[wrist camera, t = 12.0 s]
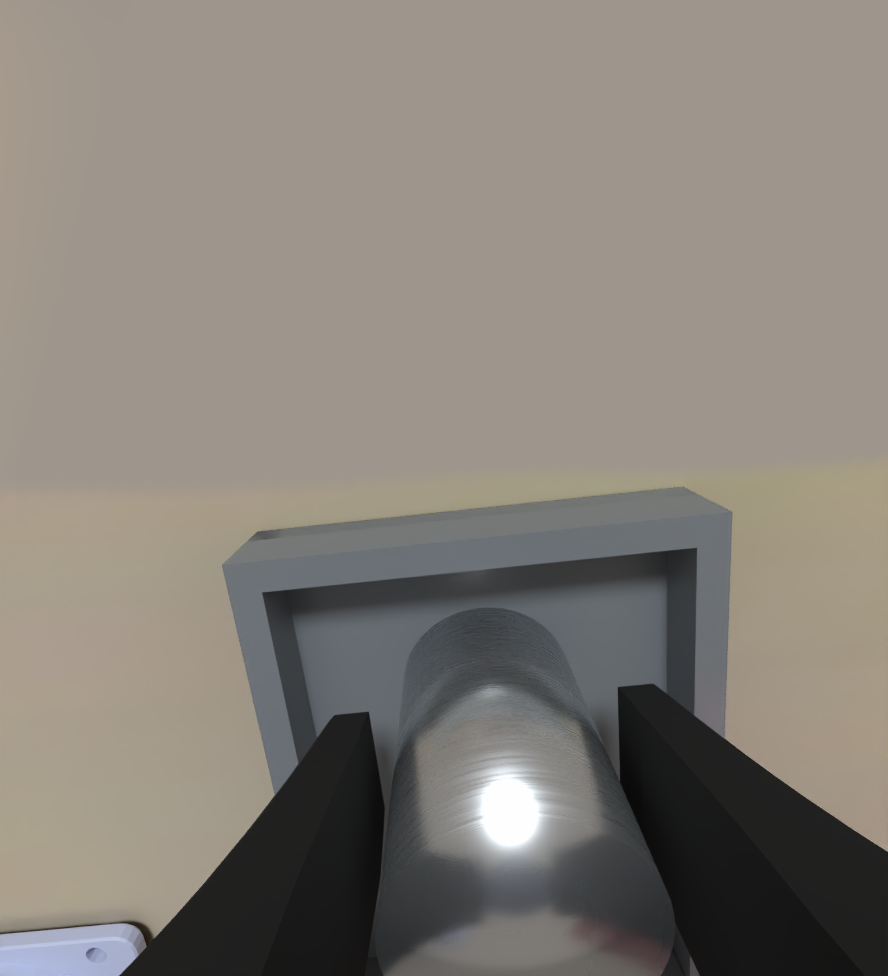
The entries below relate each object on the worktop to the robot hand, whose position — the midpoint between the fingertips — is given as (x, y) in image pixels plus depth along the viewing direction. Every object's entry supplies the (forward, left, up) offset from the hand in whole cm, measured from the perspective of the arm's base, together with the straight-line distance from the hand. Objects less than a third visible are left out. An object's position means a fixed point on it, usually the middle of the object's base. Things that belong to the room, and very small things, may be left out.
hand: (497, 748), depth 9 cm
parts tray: (0, -3, -3) cm, 4 cm away
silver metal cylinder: (0, 0, -2) cm, 2 cm away
